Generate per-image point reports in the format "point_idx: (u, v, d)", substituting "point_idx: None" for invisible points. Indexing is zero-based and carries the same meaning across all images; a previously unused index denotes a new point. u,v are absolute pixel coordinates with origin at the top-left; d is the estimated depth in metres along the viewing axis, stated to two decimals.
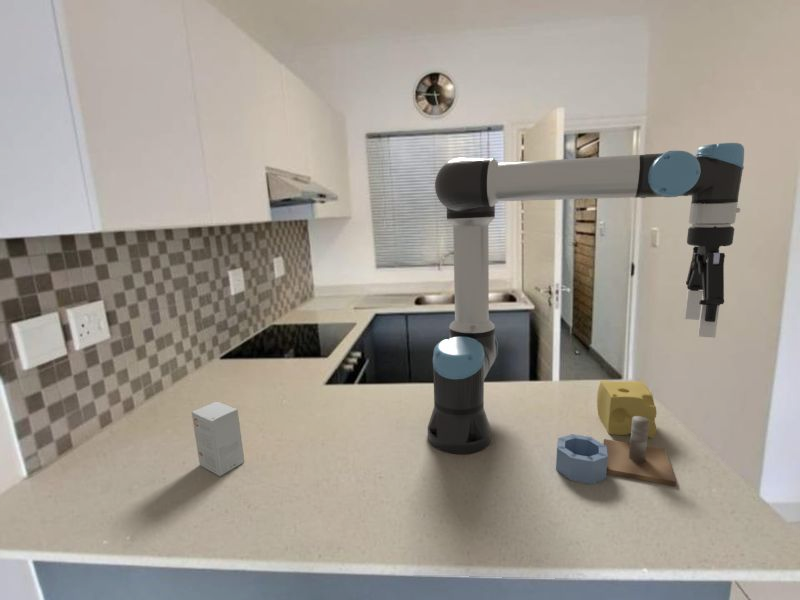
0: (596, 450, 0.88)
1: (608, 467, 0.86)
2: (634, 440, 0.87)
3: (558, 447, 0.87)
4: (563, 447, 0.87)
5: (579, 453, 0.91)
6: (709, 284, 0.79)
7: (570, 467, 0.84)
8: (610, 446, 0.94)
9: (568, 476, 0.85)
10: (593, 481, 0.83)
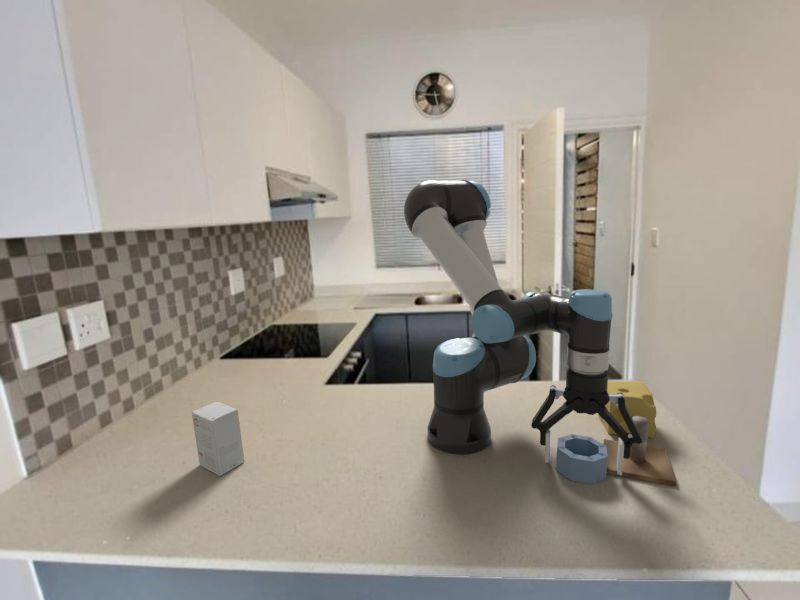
0: (596, 450, 0.88)
1: (608, 467, 0.86)
2: None
3: (558, 447, 0.87)
4: (563, 447, 0.87)
5: (579, 453, 0.91)
6: (539, 409, 0.89)
7: (570, 467, 0.84)
8: (610, 446, 0.94)
9: (568, 476, 0.85)
10: (593, 481, 0.83)
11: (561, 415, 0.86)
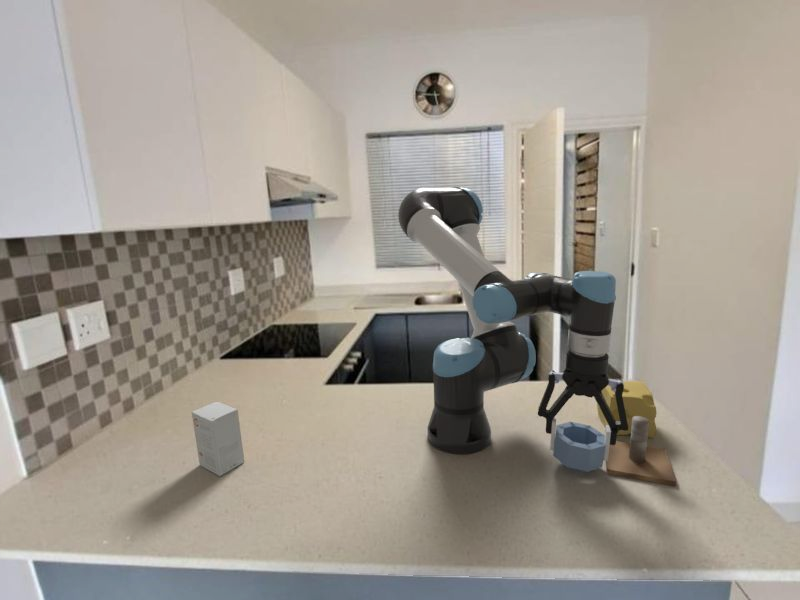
0: (594, 439, 0.88)
1: (608, 467, 0.86)
2: (634, 440, 0.87)
3: (556, 434, 0.87)
4: (561, 434, 0.87)
5: (577, 441, 0.91)
6: (543, 396, 0.89)
7: (567, 454, 0.84)
8: (610, 446, 0.94)
9: (565, 463, 0.85)
10: (589, 469, 0.84)
11: (564, 400, 0.85)
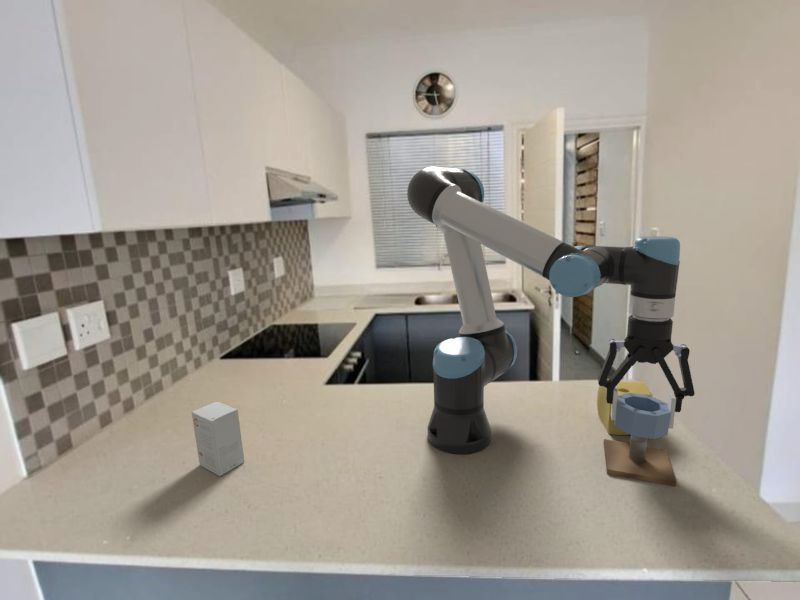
0: (656, 407, 0.87)
1: (608, 467, 0.86)
2: (634, 440, 0.87)
3: (618, 403, 0.87)
4: (624, 403, 0.86)
5: None
6: None
7: (632, 422, 0.84)
8: (610, 446, 0.94)
9: (629, 431, 0.84)
10: (656, 436, 0.83)
11: (626, 368, 0.85)
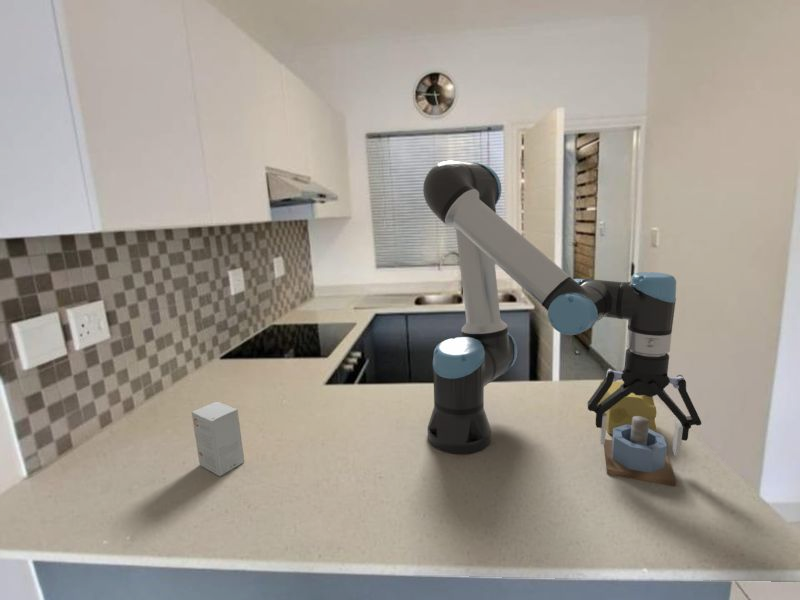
0: (653, 440, 0.89)
1: (608, 467, 0.86)
2: (634, 440, 0.87)
3: (615, 437, 0.88)
4: (620, 437, 0.88)
5: None
6: (595, 391, 0.90)
7: (629, 456, 0.85)
8: (610, 446, 0.94)
9: (627, 465, 0.86)
10: (652, 470, 0.84)
11: (619, 397, 0.87)
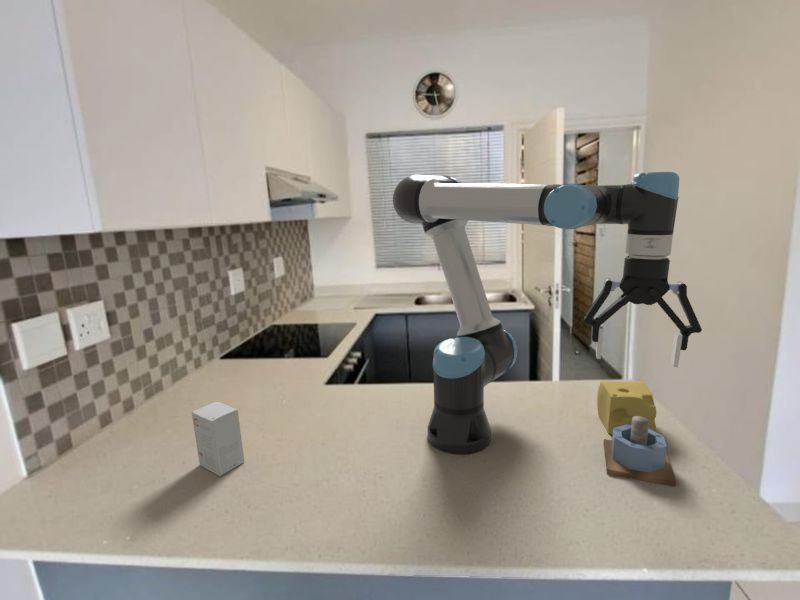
0: (653, 440, 0.89)
1: (608, 467, 0.86)
2: (634, 440, 0.87)
3: (615, 437, 0.88)
4: (620, 437, 0.88)
5: None
6: (592, 305, 0.87)
7: (629, 456, 0.85)
8: (610, 446, 0.94)
9: (627, 465, 0.86)
10: (652, 470, 0.84)
11: (617, 307, 0.83)
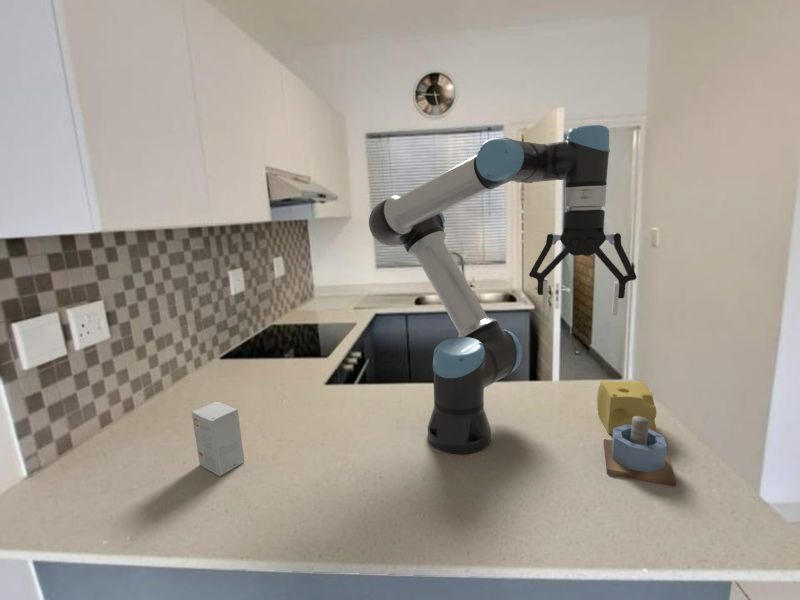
0: (653, 440, 0.89)
1: (608, 467, 0.86)
2: (634, 440, 0.87)
3: (615, 437, 0.88)
4: (620, 437, 0.88)
5: None
6: None
7: (629, 456, 0.85)
8: (610, 446, 0.94)
9: (627, 465, 0.86)
10: (652, 470, 0.84)
11: (558, 259, 0.87)
